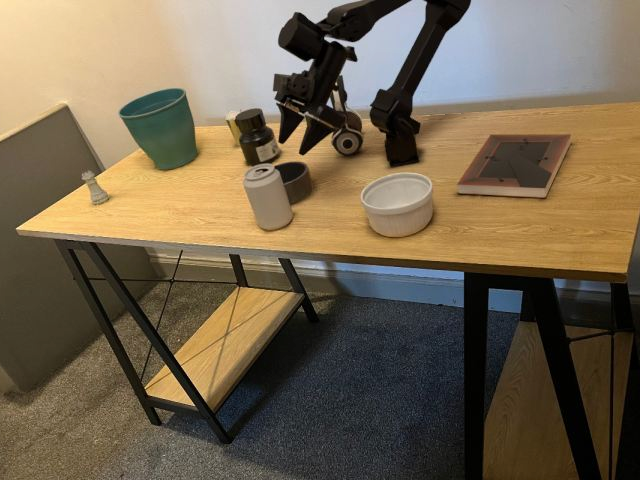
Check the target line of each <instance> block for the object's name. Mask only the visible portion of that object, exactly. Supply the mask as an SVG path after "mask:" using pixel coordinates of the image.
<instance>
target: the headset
mask: <svg viewBox="0 0 640 480" xmlns="http://www.w3.org/2000/svg"><path fill="white" fill-rule="evenodd" d="M336 85H337V86H338V87H339V88H338V91H337V92H336V91H332V93H331V96H330V98H329V100H330V103H331V106H332V108H333V109H335V110H337V111H339V112H340V113H342V114H343V115H344V119H345V121H344V123H343V126H342V128H341V130H340V129H337V128H335V127H333V129H335V130H336V131H335V132H332V135H331V139H330V144H331V146H332V147H333V149H334V150H335V151H336V152H337V153H338V154H339V155H341V156H344V157H350V156H354V155H356V154H357V153H358V152H359V151H360V149H361V148H362V147H363V144H364V137H365V136H364V135H363V132H362V131H363V119H362V115H360V113H359V111H356V110H354V109H353V108H350V107H348V104H347V101H348V93H347V90H346V87H345V82H344V75H342V74H340V76H339V78H338V80H337V82H336Z"/></svg>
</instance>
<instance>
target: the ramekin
mask: <svg viewBox="0 0 640 480" xmlns="http://www.w3.org/2000/svg"><path fill="white" fill-rule="evenodd" d="M433 194H434V186H433V182H432V180H431V178H430V177H428V176H427V175H424V174H421V173H419V172H411V171H409V172H396V173H391V174H388V175H384V176H381V177H378V178H376V179H374V180H372V181H371V182H369V183H368V184H367V185H366V186H365V187H364V188H363V189H362V191H361V193H360V202H361V206H362V208H363V209H364V211H365V215H366V216H367V219H368V221H369V222H368V223H369V225H370V227H371V228H372V230H374V231H375V232H376V233H378V234H380V235H381V236H384V237H389V238H402V237H409V236H411V235H414V234H416V233H418V232H420V231H422V230H423V229H425V228H426V226H427V225H429V222H430V221H431V220H432V217H433V202H434V201H433Z"/></svg>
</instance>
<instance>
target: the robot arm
mask: <svg viewBox="0 0 640 480" xmlns="http://www.w3.org/2000/svg"><path fill="white" fill-rule="evenodd" d="M412 1H413V0H357V1H354V2H353V1H352V2H348V3H344V4H341V5H338V6H335V7H332V8H331V9H330V10H328V13H327V14H326V15H327V16H326V17H325V18H323V19H321V20H320V21H319V20H318V22H316V23H315V22H313V21H312V20H311V19H309V18H308V17H307V15H305V14H303V13H302V12H299V11H294V12H293V15H292V17H291V18H289V19H287V21H286V22H285V24H284V26H282V27H281V29H280V31H279V34H278V38H277V44H278V47H279V48H281V49H282V50H284V51H285V52H288V53H289V54H291V55H293V56H294V57H296V58H298V59H299V60H301V61H302V62H304V63H307V62H310V61H311V60H312V62H311V64H310V66H309V69H308V70H306V69H303V70H302V71H301V73H296V72H292V73H291V74H285V73H283V74H282V73H274V74H273V83H272V92H276V94H275V96H274V99H273V100H275V101H277V102H276V103H275V105H276V106H277V108H278V110H279V113H280V122H279V123H280V124H279V131H278V140H277V143H279V144H280V145H285V143H286V142H287V141H288V139H290V137H291V136H292V135H293V133H294V132H295V131H296V129H297V128H298V127H299V126H300V125H301V123H302V122H303V121H304V120H305V123H306V128H305V131H304V133H303V137H302V140H301V142H300V146H299V150H298V154H299V155H300V156H305V155H306V154H308V153H309V152H310V151H311V150H312V149H314V148H315V147H316V146H317V145H318V144H319V143H321V142H322V141H323V140H324V139H326V138H327V137H328V136H330V135H331V134H333V132H335V131H336V130H335V129H333V127H335V128H337V129H340V130H341V128H342V126H343V123H344V121H345V119H344V115H343V114H342V113H340V112H339V111H337V110H335V109H333V107H331V106H329V105H328V102H329V100H330V96H331V93H332V91H336V92H337V91H338V88H339V87H338V86H337V85H336V82H337V80H338V78H339V76H340V75H341V74H342V71H343V69H344V67H345V64H346V62H347V61H348V62H354V63H358V61H359V60H358V56H357V54H356V51H355V46H352V45H351V46H350V45H347V46H345V45H343V44H342V43H340V42H339V41H343V42H347V43H357V42H360V40H362V39H363V38H364V37H365V36H366V35H368V34H369V33H370V32H371V31H372V29H373V28H374V27H375V25H376V24H377V22H379V20H381V19H383V18H384V17H386V16H388V15H389V14H392V13H393V12H394V11H397V10H398V9H400V8H401V7H404V6H405V5H407V4H409V3H411V2H412ZM422 2H425V3H426V4H425V7H424V8H425V10H424V11H425V13H424V16H425V17H424V18H425V19H424V22H423V25H422V26H421V29H420V31H419V33H418V35H417V36H416V39H415V40H414V41H413V42H414V43H413V44H412V46H411V48H410V50H409V52H408V54H407V56H406V57H405V59H404V62H403V64H402V65H401V67H400V70H399V71H398V73H397V76H396V77H395V80H394V82H393V83H392V84H391V86H390V87H388V88H387V89H383V88H379V89H378V90H377V92H376V94H375V97H374V99H373V101H372V102H371V103H370V104H369V107H371V108H370V111H369V114H368V116H369V119H370V123H371V125H372V126H373V127H375V128H377V130H378V131H379V132H380V133H382V134H385V139H384V142H383V143H384V144H383V146H384V151H385V155H386V160H387V162H389V167H390V168H393V167H398V166H399V167H400V166H405V165H410V164H415V163H419V162H420V153H419V148H418V145H417V144H418V143H417V138H416V135H418V134H420V132H421V126H422V125H421V122H420V121H418V120H417V119H415V118H412V113H413V111H414V110H413V109H414V107H413V106H414V95H415V93H416V92H417V89H418V87H419V86H420V84H421V82H422V80H423V78H424V76H425V74H426V72H427V71H428V68H429V66H430V64H431V62H432V61H433V58H434V57H435V55H436V53H437V51H438V49H439V47H440V46H441V44H442V41H443V40H444V38H445V36H446V35H447V33H448V32H449V31H450V30H452V29H453V28H454V27H455V26H457V24H458V23H460V21H461V20H462V19H463V17H465V14H466V13H467V12H468V10H469V9H470V6H471V4H472V0H422ZM325 38H329V39H334V40H332V41H331V42H330V41H328V40H326V39H325ZM309 115H310V116H309Z"/></svg>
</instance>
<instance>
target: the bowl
mask: <svg viewBox="0 0 640 480" xmlns="http://www.w3.org/2000/svg"><path fill="white" fill-rule="evenodd" d="M273 166H274V169H276V170H278V171H279V172H280V175H281V178H282V181H283V185H284V188H285V191H286V194H287V197H288V200H289V203H290V206H292V205H295V204H298V203H301V202H302V201H304V200H306V199H307V198H309V197H310V196H311V195H312V193H313V191H314V188H315V187H314V183H313V179H312V176H311V172H310V169H309V166H308V164H307V163H305V162H303V161H298V160H295V161H287V162H282V163H281V162H280V163H279V164H275V165H273Z"/></svg>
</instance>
